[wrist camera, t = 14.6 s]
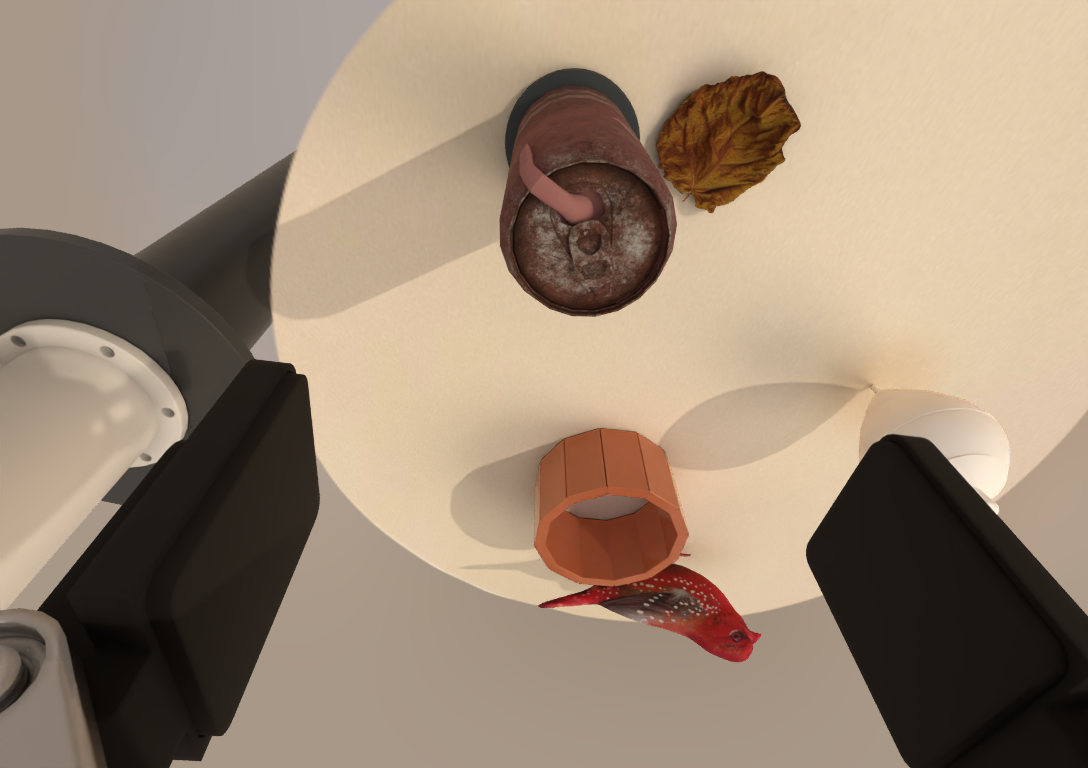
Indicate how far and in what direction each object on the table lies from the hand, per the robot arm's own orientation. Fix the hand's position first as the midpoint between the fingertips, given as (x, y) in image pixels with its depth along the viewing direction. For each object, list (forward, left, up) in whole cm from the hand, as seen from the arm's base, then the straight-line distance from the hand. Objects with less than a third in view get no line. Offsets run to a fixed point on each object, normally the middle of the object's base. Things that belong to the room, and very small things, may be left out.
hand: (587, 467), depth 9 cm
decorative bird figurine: (+13, -33, -26) cm, 43 cm away
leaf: (+9, +1, -26) cm, 27 cm away
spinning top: (+25, -13, -26) cm, 38 cm away
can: (+1, 0, -25) cm, 25 cm away
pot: (+8, -25, -25) cm, 36 cm away
